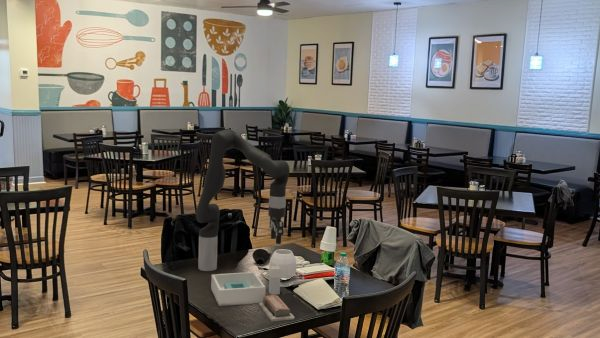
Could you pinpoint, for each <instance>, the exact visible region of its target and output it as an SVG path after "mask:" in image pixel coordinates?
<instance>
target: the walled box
mask: <svg viewBox="0 0 600 338" xmlns="http://www.w3.org/2000/svg"><path fill="white" fill-rule="evenodd" d="M210 276H211V281H210V282H211V287H210V290H211V292H212V294H213V296H214V299H215V302H216V304H217V305H218V307H226V306H237V305H238V306H239V305H251V304H259V302H263V297H264V296H266V290H267V289H266V285H264V283H263V282H262V280H261V279H260V277H259V276H258V275H257V273H256V272H255V271H249V272H247V271H246V272H233V273H217V274H211V275H210Z"/></svg>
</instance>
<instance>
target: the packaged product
mask: <svg viewBox="0 0 600 338" xmlns="http://www.w3.org/2000/svg"><path fill="white" fill-rule="evenodd" d="M258 306H259V307H260V309H262V311H263V313H264V314H265V315H266V316H267V318H268V319H269V320H270V321H271V322H272V323H273V322H280V321H281V322H282V321H288V320H295V316H294V314H293V313H291V309H290V308H289V307H288V306H287V305H286V303H284V301H283V300H282V299H281V298H280V297H279V295H278V294H277V295H271V294H270V295H265V296H264V297H263V302H259V303H258Z"/></svg>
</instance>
